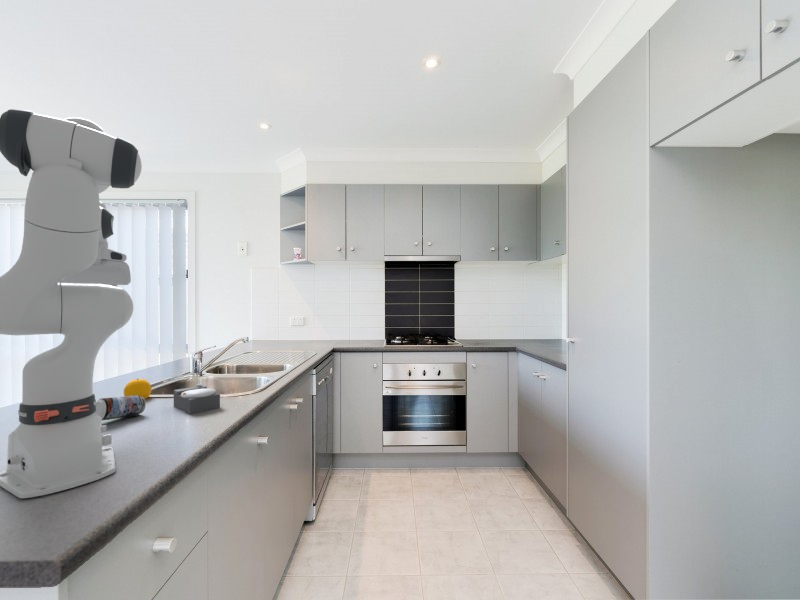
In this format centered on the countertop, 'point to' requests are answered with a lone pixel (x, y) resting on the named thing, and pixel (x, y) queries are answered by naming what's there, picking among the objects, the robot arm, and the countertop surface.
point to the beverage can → (120, 407)
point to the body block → (196, 399)
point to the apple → (138, 388)
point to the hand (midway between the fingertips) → (89, 299)
